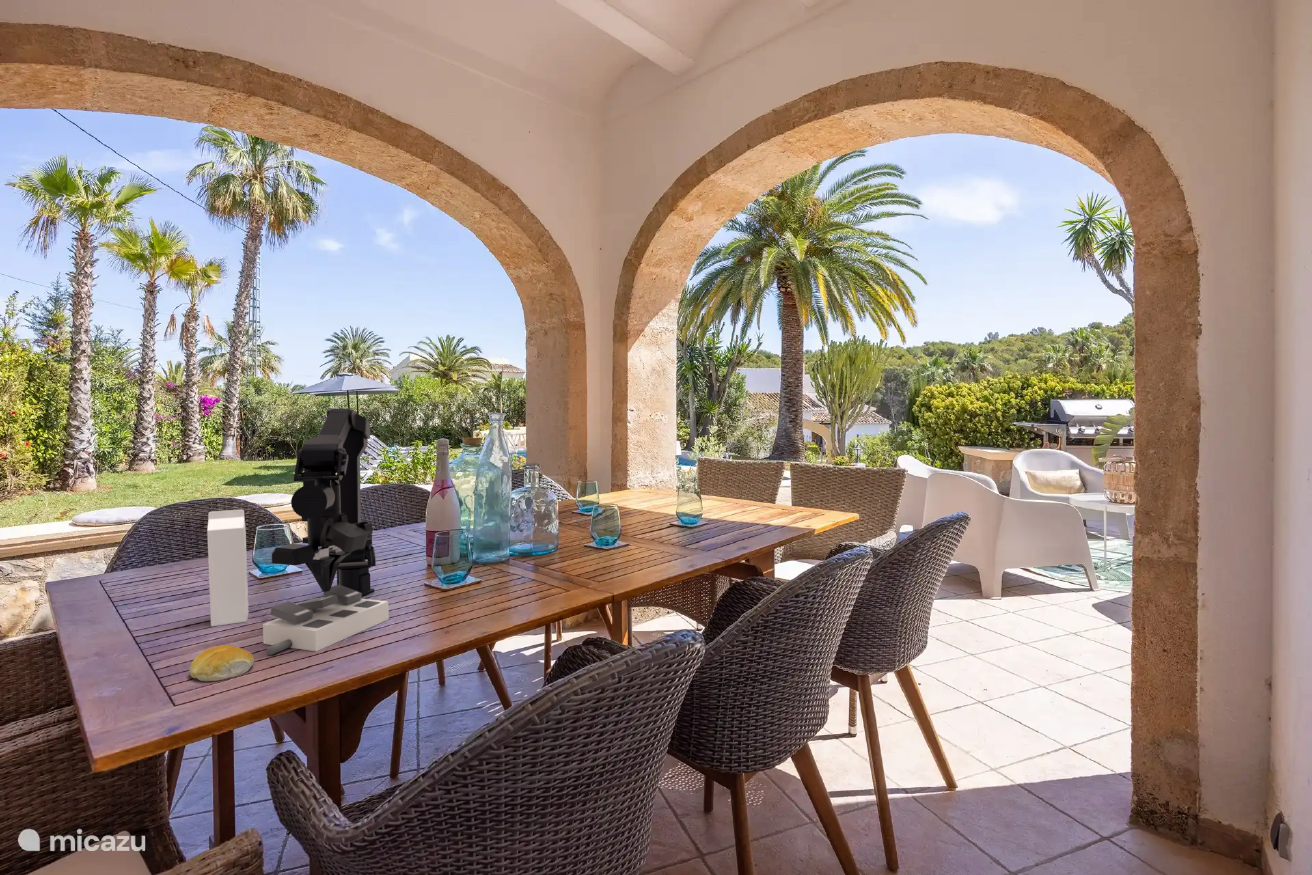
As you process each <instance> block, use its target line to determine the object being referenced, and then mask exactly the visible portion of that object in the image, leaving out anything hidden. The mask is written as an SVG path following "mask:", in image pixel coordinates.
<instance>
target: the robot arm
mask: <svg viewBox="0 0 1312 875" xmlns="http://www.w3.org/2000/svg"><path fill="white" fill-rule="evenodd" d="M370 437H371V426H370V423H369V420H368V418H367V417H366V416H363V415H360V414H359V413H357V412H356V411H355V410H354V409H351V408H349V407H348V408H339V407H338V408H330V409H327V411H326V417H325V421H324V423H323V425H322V427H321V428H320V430H319V432H318V434H317V436H315V437H312V438H309V439H307V440H306V441H305V442H304V443H303V444H302V446H301V448H300V449H299V450H298V451H297V457H296V462H295V463H296V464H295V468H294V474H293V482H297V483H298V482H302V486H301V487H299V488H298V489H297V490H295V492H294V493H293V495H292V497H291V500H290V504H291V508H292V510H293V512H294V513H295V514H296V515H297V516H299V517H301V522H304V523H305V522H306V526H307V530H306V531H307V536H304V537H302V539H301V540H302V544H300V543H288V544H284V545H280V546H276V547H274V549H273V550H272V552H271V564H275V565H286V566H287V565H288V566H301V565H304V564H305V566H306V567H307V568H308V570H309V571H310V573H311V574H312V575H313V578H314V579H315V580H316V582H317V585H318V586H319V587H320V589H321V591H322V592H323V593H324V592H327V591H330V589H331V587H333V583H334V581H335V577H336V585H341V586H344V587H347V588H349V589H352V590H355V591H358V592H360V593H362V596H364V595H368V594H370V593H372V592H375V588H371V573H370V569H371V568H372V567H376V566H377V559H376V553H375V547H374V545H373V523H372V522H370V521H369V520H367V519H366V520H363V521H362V518H361V517H362V514H361V513H362V512H361V506H362V505H361V502H362V501H361V457H362V455H363V454H364V452H365V451H366V449H367V447H368V442H369V440H370Z"/></svg>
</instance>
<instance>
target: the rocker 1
mask: <svg viewBox="0 0 1312 875" xmlns="http://www.w3.org/2000/svg"><path fill="white" fill-rule="evenodd" d="M270 615H271V616H274V617H276V618H277V619H278V618H281V619H283V620H286V621H288V622H291V623H293V624H299V623H301V622H304V621H306V620H309V619H312V617H313V611H312V610H309V609H307V608H304V607H302V606H299V605H298V604H296V603H294V602H291V601H286V602H282V603H279V604H277V605H274V606H271V609H270Z"/></svg>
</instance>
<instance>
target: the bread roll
mask: <svg viewBox="0 0 1312 875" xmlns="http://www.w3.org/2000/svg"><path fill="white" fill-rule="evenodd" d="M254 662H255V657H254V655H253V654H252V653H251V652H250V651H248V650H246V649H244V648H241V647H237V646H234V645H230V644H227V645H226V644H224V645H222V644H221V645H217V646H212V647H209V648H206V650H203V651H202V652H200V653H199V654H198V655H197V656H196V657H195V658H194V659H193V660H192V661H191V664H190V666H189V670H188V671H189V676H190V677H191V678H193V679H196V680H197V679H198V680H199V681H201V682H217V681H223V680H228V679H231V678H235V677H238V676H240V675H243V674H246V673H248V671H249V670H250V669H251V668H252V666H253V664H254Z"/></svg>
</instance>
